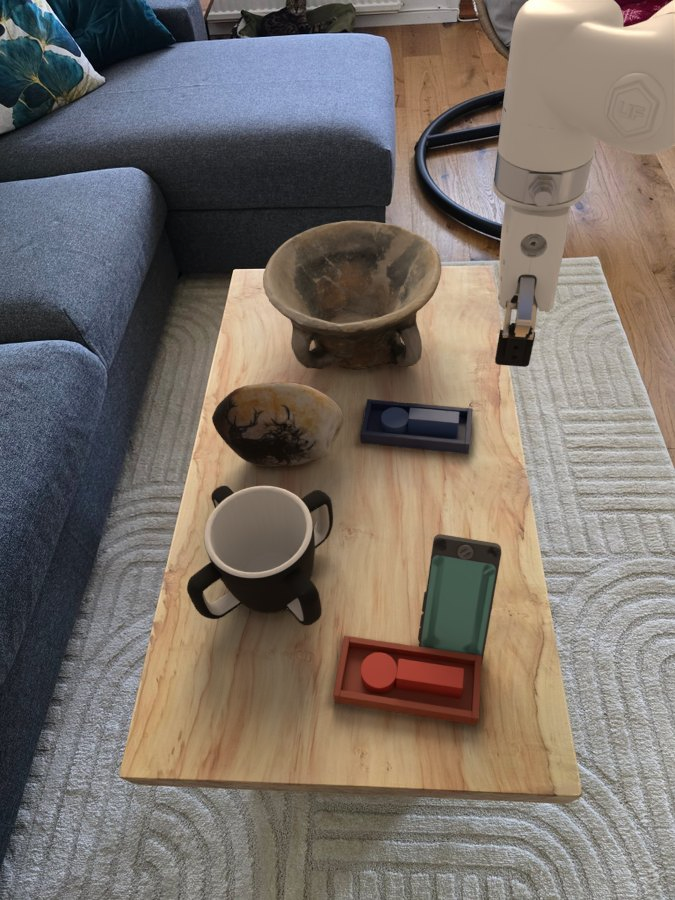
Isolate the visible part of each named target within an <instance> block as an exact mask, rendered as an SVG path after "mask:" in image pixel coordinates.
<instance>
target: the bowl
mask: <svg viewBox="0 0 675 900" xmlns="http://www.w3.org/2000/svg"><path fill="white" fill-rule="evenodd" d="M441 275H442V261H441V257H440V254H439V252H438V251H437V249H436V248H435V247H434V246H433V245H432V244H431V242H429V241H428V240H427V238H425V237H424V236H422V235H420V234H418V233H415V232H413V231H411V230H410V229H407V228H405V227H402V226H400V225H397V224H391V223H385V222H378V221H366V220H345V221H339V222H338V221H336V222H331V223H325V224H321V225H319V226H315V227H311V228H309V229H307V230H305V231H302V232H301V233H298V234H296V235H294V236H293V237H290V238H289V239H288V240H286V241H285V242H284V243H282V244H281V245H280V246H279V247H278V248H277V249H276V250H275V251H274V253H273V254H272V255H271V256H270V258H269V260H268V262H267V264H266V266H265V268H264V271H263V275H262V285H263V290H264V294H265V295H266V297H267V299H268V301H269V303H271V306H273V307H274V308H275V309H276V310H277V311H278V312H279V313H280V314H281V315H282V316H284V317H285V318H287V319H288V320H289V321H290V323H291V326H292V331H291V341H290V342H291V343H290V344H291V349H292V351H293V354H294V356H295V358H296V360H297V361H298V363H300V364H301V365H302V366H303V367H305V368H307V369H314V370H322V369H326V368H329V367H332V366H334V365H335V366H337V367H340V368H345V369H349V370H357V369H359V370H360V369H366V368H368V369H369V368H372V367H374V366H379V365H381V364H387V365H393V366H394V367H395V366H396V367H400V368H410V367H413V366H415V365H417V364H418V363H419V362H420V361H421V359H422V353H423V345H422V344H423V343H422V337H421V333H420V330H419V327H418V323H417V313H418V311H420V310H422V309H423V308H424V307H425V306H426V305H427V304H428V303H429V301H430V300H431V299H432V298H433V296H434V295H435V293H436V291H437V289H438V286H439V283H440V280H441ZM312 342H313V343H314V347H313V349H311V345H312Z"/></svg>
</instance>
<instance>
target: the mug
mask: <svg viewBox="0 0 675 900" xmlns="http://www.w3.org/2000/svg"><path fill="white" fill-rule="evenodd" d="M210 498H211V501H212V505H213V508H214V509H213V510H212V512H211V514H210V515H209V517H208V519H207V521H206V524H205V527H204V532H203V543H204V548H205V551H206V554H207V556H208V558H209V563H207V564H206V565H204V566H203V567H202V568H200V569H199V570H198V571H197V572H195V573H194V574H192V575H191V576H190V578H189V579H188V581H187V585H186V592H187V595H188V597H189V599H190V601H191V603H192V604H193V607H194V609H195V610H196V611H197V612H198V613H199V614H200V615H201V616H202V617H204V618H207V619H210V620H219V619H222V618H224V617H226V616H227V615H228V614H230V613H231V612H233V611H234V610H235V609H237V608H239V607H240V606H241V605H243V606H244V607H246V608H248V609H249V610H252V611H254V612H257V613H262V614H275V613H281V612H283V611H285V610H288V611H289V612H290V613H291V615H292V616H293V617H294V618H295V619H296V620H297V621H298V623H300V624H301V625H302V626H305V627H308V626H309V627H310V626H312V625H314V624H316V622H317V621H319V620H320V618H321V616H322V611H323V608H322V601H321V597H320V593H319V590H318V588H317V587H316V585H315V584H314V582H313V581H312V576H313V572H314V571H313V570H314V565H315V553H316V549H317V548H319V547H321V545H322V544H323V543H325V541H326V540H327V539H328V538H329V536H330V535H331V532H332V529H333V526H334V510H333V509H334V508H333V502H332V499H331V497H330V495H328V493H326V492H325V491H323V490H322V489H321V490H320V489H314V490H312V491H311V492H309V493H308V494H306V495H304V496H303V497H301V498H300V496H298V495H296V494H295V493H294V492H291V491H289V490H288V489H284V488H282V487H278V486H273V485H257V486H256V485H255V486H250V487H246V488H243V489H241V490H238V491H236V492H234V491H233V490H232V488H231V487H230V486H228V485H220V486H218V487H216V488H215V489H214V490H213V491H212V493H211V497H210ZM316 510H317V513H318V514H317V515H318V516H317V520H316V523H315V525H314V521H313V518H312V513H313V512H315V511H316ZM218 580H220V581H221V582H222V584H223V585H224V586H225V587H226V589H227V590H228V591H227V592H225V593H224V594H223V595H221V596H220V597H218V598H217V599H215V600H213V601H211V602H208V600H207V598H206V595H205V594H204V591H206V590H207V589H208V588H209V587H210V586H212V585H213V584H215V583H217V582H218Z"/></svg>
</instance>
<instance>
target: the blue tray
mask: <svg viewBox="0 0 675 900" xmlns="http://www.w3.org/2000/svg"><path fill="white" fill-rule="evenodd" d="M392 407H398V408H401V409H404V410H405V411H406V412H407V413H408V415H409V411H410V408H421V409H432V410H443V411H454V412H459V423H458V432H457V437H450V436H440V435H430V434H419V433H409V432H408V430H407V431H406V432H405V433H404V434H392V433H385V432H384V431H383V430H382V428H381V415H382V413H383V412H384V411H385V410H386V409H389V408H392ZM473 410H474V409H473V408H471V407H460V406H447V405H438V404H437V405H436V404H426V403H415V402H405V401H404V402H403V401H393V400H382V399H373V398H372V399H370V398H367V399H366V404H365V409H364V412H363V413H364V414H363V418H362V422H361V428H360V432H359V438H360V439H359V440H360V441H359V442H360V444H363V445H366V444H367V445H375V446H383V447H395V448H403V449H404V448H405V449H414V450H415V449H416V450H423V451H432V452H433V451H434V452H445V453H453V454H464V455H469V454H470V448H471V438H472V437H471V435H472V424H473V423H472V422H473Z"/></svg>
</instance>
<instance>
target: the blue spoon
mask: <svg viewBox="0 0 675 900" xmlns="http://www.w3.org/2000/svg"><path fill="white" fill-rule="evenodd" d="M458 423H459V412H454V411H443V410H432V409H421V408H410V411H409V415H408V413H407V412H406V411H405V410H404V409H401V408H398V407H392V408H389V409H386V410H385V411H384V412H383V413H382V415H381V428H382V430H383V431H384V432H385V433H392V434H404V433H405V432H406V431H407V430H408V432H409V433H419V434H430V435H440V436H450V437H457V432H458Z"/></svg>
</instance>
